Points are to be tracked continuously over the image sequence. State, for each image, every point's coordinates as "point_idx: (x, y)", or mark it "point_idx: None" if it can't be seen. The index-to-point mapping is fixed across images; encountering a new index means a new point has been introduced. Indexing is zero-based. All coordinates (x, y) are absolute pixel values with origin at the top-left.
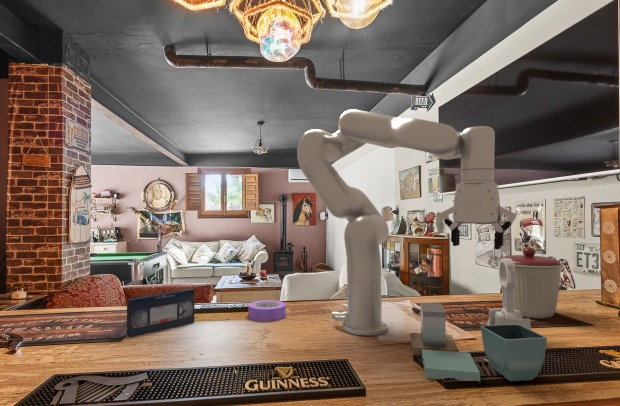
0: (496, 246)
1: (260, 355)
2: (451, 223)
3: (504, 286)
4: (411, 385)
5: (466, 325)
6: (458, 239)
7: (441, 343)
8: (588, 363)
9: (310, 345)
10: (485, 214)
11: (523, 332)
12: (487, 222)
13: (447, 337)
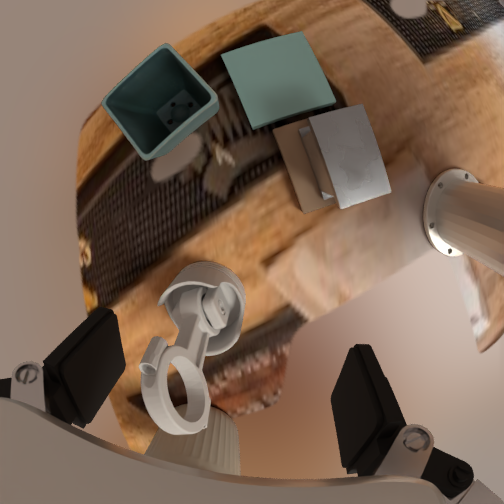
0: (98, 314)
1: (491, 54)
2: (423, 474)
3: (189, 357)
4: (310, 14)
5: (290, 332)
6: (341, 410)
7: (307, 127)
8: (98, 236)
9: (479, 100)
10: (3, 486)
11: (140, 142)
12: (29, 413)
13: (308, 194)
